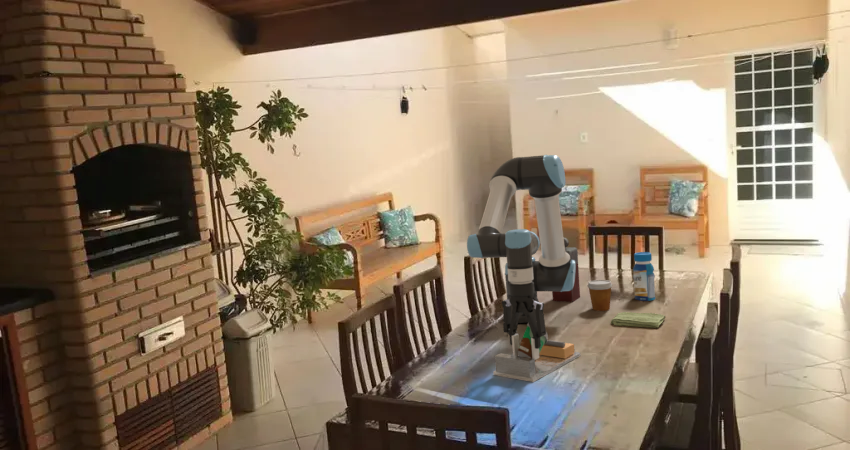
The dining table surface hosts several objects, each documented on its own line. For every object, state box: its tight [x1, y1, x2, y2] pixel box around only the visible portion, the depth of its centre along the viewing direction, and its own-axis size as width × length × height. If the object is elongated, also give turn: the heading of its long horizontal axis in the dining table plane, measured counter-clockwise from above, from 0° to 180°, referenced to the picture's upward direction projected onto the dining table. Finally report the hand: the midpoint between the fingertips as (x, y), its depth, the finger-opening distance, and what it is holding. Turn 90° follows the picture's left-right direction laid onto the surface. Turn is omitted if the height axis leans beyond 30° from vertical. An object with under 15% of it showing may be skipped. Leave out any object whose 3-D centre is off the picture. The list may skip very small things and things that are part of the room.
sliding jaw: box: [539, 340, 575, 358], centre depth 221 cm, size 12×6×5 cm, turn 49°
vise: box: [492, 351, 582, 383], centre depth 214 cm, size 14×28×6 cm, turn 139°
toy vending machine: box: [551, 237, 581, 303], centre depth 292 cm, size 9×11×28 cm
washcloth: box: [610, 311, 666, 329], centre depth 254 cm, size 13×18×3 cm
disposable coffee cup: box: [587, 279, 613, 312], centre depth 273 cm, size 10×10×12 cm
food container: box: [518, 322, 549, 361], centre depth 211 cm, size 12×6×10 cm
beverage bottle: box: [632, 251, 656, 302], centre depth 285 cm, size 8×8×20 cm
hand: (526, 357), depth 209 cm, fingers open, 6 cm apart
